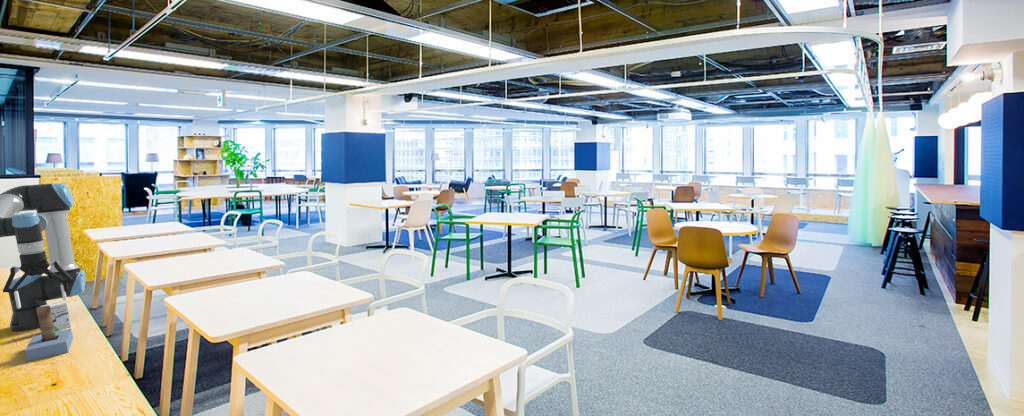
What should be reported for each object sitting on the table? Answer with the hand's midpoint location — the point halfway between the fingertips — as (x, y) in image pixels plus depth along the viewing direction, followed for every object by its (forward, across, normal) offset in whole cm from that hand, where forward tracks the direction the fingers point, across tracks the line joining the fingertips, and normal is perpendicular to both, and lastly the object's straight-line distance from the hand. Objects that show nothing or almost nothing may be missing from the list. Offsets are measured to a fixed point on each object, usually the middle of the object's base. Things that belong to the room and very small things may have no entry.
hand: (42, 303), depth 200 cm
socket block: (+19, 0, -1) cm, 19 cm away
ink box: (+20, -1, +28) cm, 35 cm away
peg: (+19, 0, -1) cm, 19 cm away
